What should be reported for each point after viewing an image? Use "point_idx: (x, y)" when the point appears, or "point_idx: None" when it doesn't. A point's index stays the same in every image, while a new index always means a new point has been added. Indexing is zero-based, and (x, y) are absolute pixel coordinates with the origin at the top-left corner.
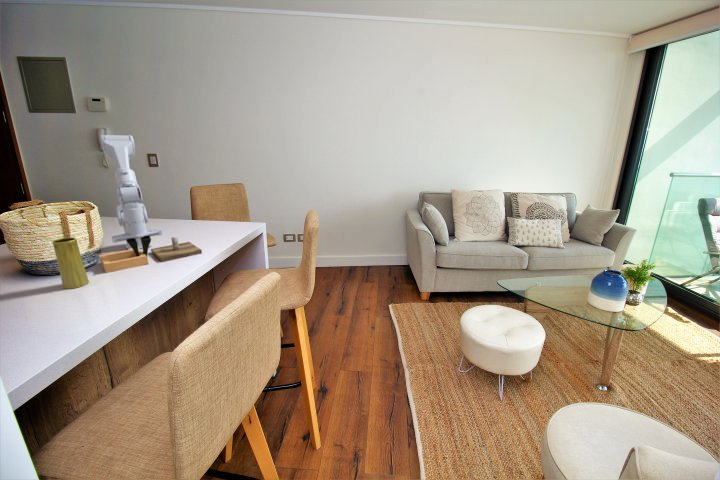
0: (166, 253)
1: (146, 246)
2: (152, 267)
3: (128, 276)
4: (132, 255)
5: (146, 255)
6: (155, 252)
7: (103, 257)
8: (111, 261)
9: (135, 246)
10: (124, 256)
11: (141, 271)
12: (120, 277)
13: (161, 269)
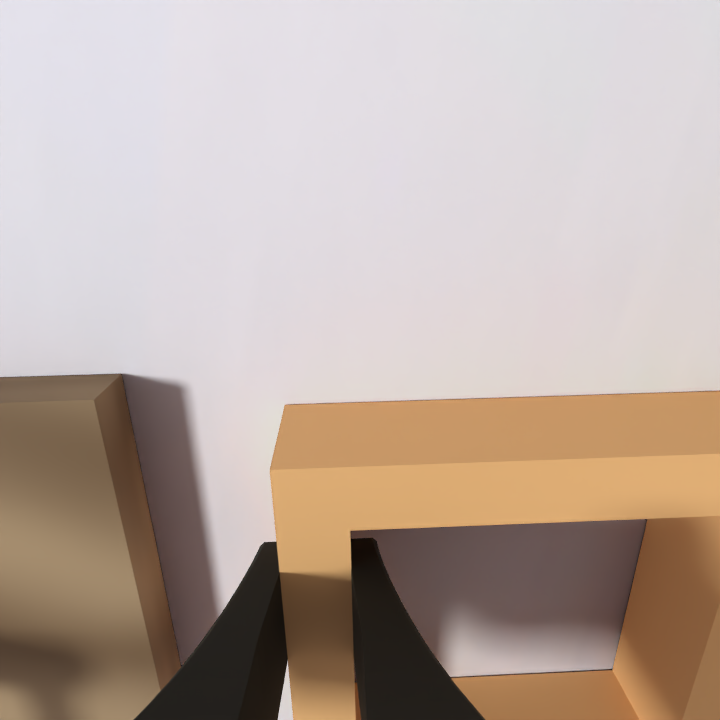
0: (12, 555)
1: (206, 682)
2: (260, 221)
3: (615, 34)
4: None
5: (264, 557)
6: (147, 664)
7: (710, 718)
8: (579, 682)
9: (409, 713)
10: None
11: (419, 143)
12: (702, 76)
13: (152, 7)
